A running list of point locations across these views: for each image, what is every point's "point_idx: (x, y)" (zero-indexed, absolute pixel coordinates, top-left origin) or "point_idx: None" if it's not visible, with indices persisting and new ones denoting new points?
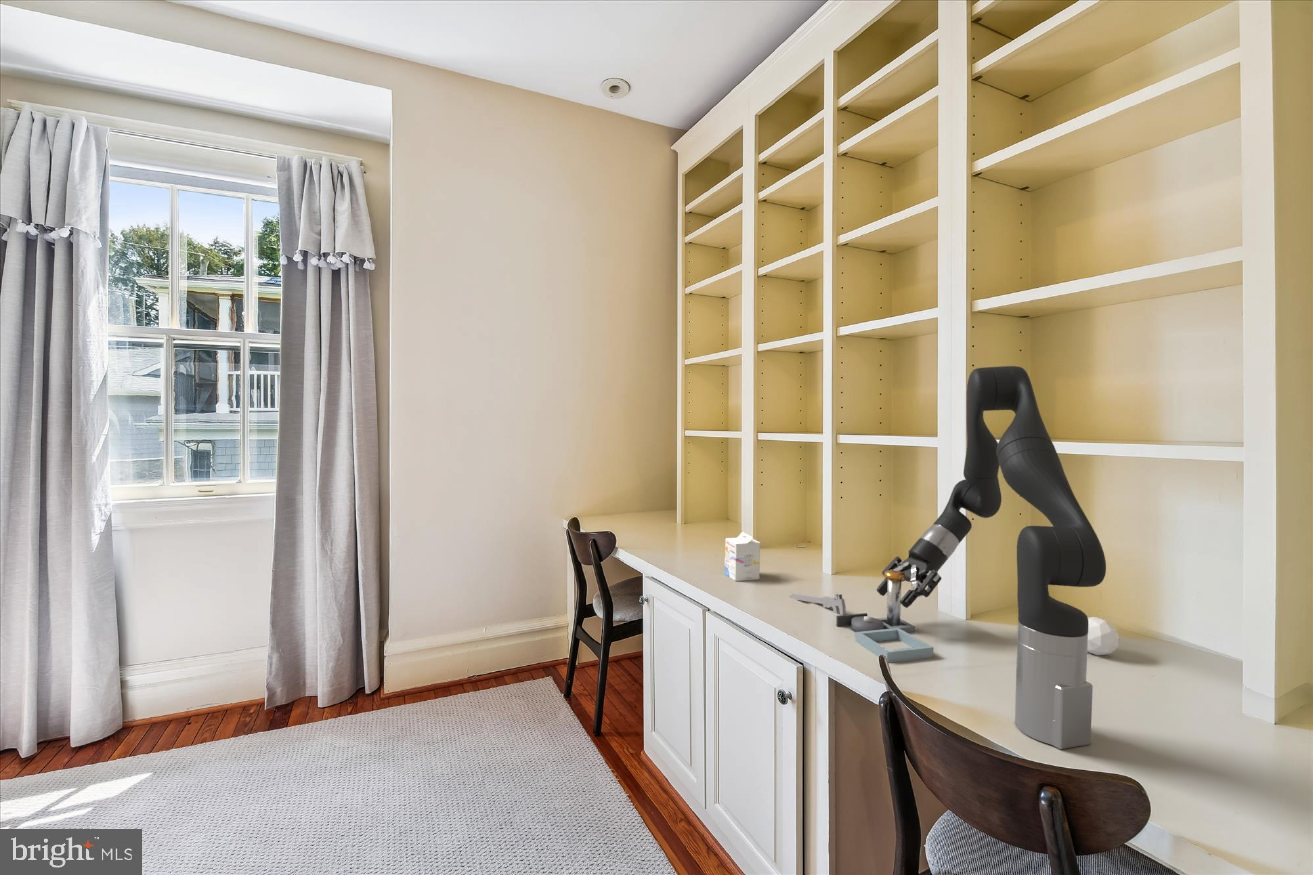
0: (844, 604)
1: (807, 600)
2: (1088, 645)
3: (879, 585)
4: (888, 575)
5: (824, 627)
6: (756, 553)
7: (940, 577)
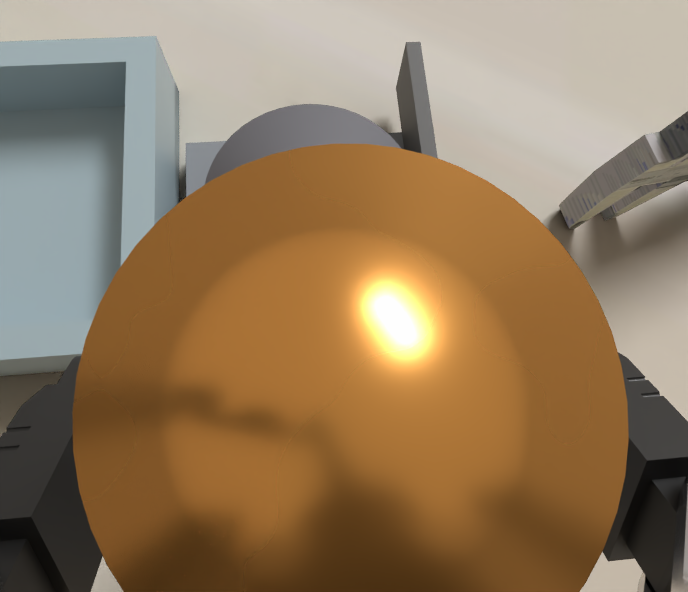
0: (622, 179)
1: None
2: None
3: (636, 373)
4: (270, 172)
5: (447, 63)
6: None
7: None
